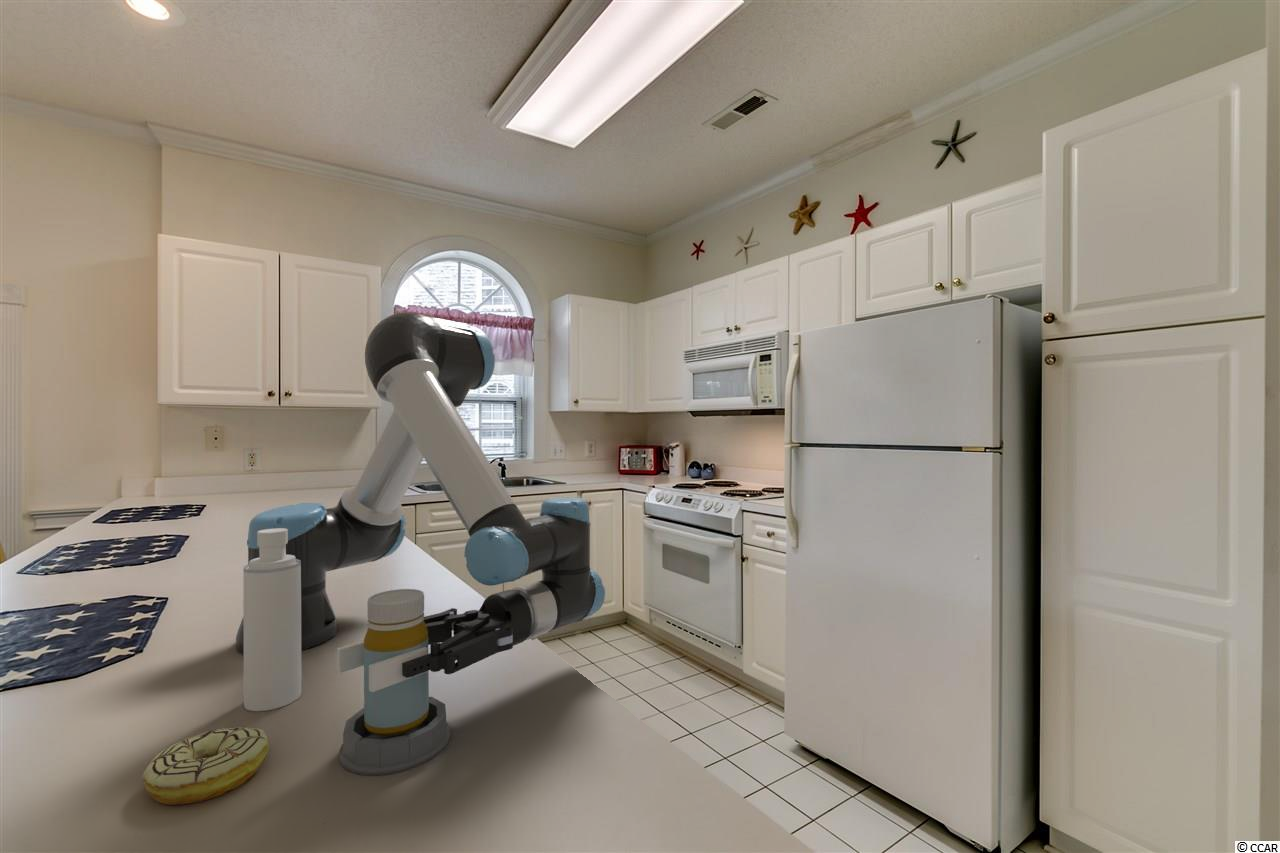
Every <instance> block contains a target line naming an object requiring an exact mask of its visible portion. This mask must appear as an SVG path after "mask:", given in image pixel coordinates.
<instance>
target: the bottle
mask: <svg viewBox="0 0 1280 853" xmlns="http://www.w3.org/2000/svg"><path fill="white" fill-rule="evenodd" d="M424 617H425V594H424V591H422V590H420V589H415V588H411V589H410V588H399V589H398V588H397V589H391V590H386V591H381V592H379V593H374V594H373V595H371V596H370V597H368V599H367V619H368V620H367V630H366V633H365V636H364V638H363V640H364V665H363V702H364V703H363V704H364V705H363V708H364V721H365V727H366V729H367V730H369V731H370V732H371V733H372V734H374V735H377V736H383V737H387V736H396V735H401V734H404V733H407V732H410V731H412V730H413V729H415V728H417V727H418V726H419V725H421V724H422V723H423V721H424V720H425V719H426V717H427V715H428V713H429V697H430V695H429V693H430V692H429V691H430V688H429V686H430V685H429V682H430V680H429V678H430V677H429V671H430V670H429V671H428V672H426V673H423V674H420V675H418V676H415V677H412V678H410V679H407V680H404V681H402V682H399V683H396V684H393V685H391V686H388V687H385V688H383V689H380V690H377V691H375V692H371V691H369V665H371V664H374V663H377V662H380V661H383V660H386V659H389V658H392V657H395V656H398V655H401V654H404V653H407V652H411V651H414V650H416V649H419V648H422V647H426V648H428V649H429V645H428V630H427V627H426V625H425V622H424Z"/></svg>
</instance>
